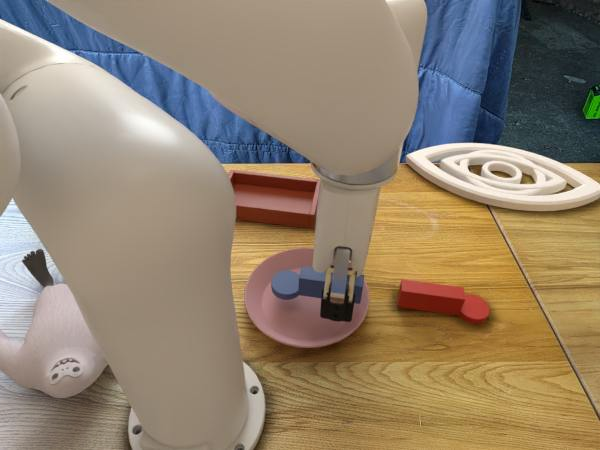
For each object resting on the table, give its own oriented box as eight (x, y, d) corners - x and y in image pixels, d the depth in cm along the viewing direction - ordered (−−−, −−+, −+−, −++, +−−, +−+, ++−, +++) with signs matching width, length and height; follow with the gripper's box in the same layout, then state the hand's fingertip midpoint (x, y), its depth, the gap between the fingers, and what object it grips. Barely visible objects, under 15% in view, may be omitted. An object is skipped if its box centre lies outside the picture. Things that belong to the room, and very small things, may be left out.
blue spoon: (268, 297, 50) (267, 280, 48) (274, 273, 53) (274, 256, 51) (359, 310, 49) (362, 293, 47) (361, 285, 52) (364, 268, 50)
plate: (259, 371, 46) (257, 361, 44) (236, 270, 56) (234, 259, 55) (387, 340, 49) (390, 329, 47) (343, 249, 59) (344, 238, 57)
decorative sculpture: (405, 143, 78) (407, 135, 77) (581, 158, 75) (586, 150, 74) (409, 197, 67) (411, 189, 66) (615, 217, 64) (621, 209, 63)
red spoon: (485, 301, 53) (493, 285, 51) (489, 326, 50) (497, 310, 48) (397, 289, 54) (401, 273, 52) (397, 313, 51) (401, 297, 49)
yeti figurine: (125, 213, 56) (193, 318, 43) (135, 253, 60) (200, 360, 47) (-65, 273, 46) (-50, 429, 34) (-38, 315, 50) (-15, 469, 38)
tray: (321, 193, 67) (322, 179, 66) (313, 229, 62) (314, 215, 60) (231, 183, 69) (230, 169, 67) (216, 217, 63) (214, 202, 61)
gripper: (324, 97, 44) (317, 224, 56) (293, 210, 32) (292, 344, 43) (401, 104, 43) (378, 232, 55) (400, 223, 31) (370, 356, 42)
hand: (340, 281), depth 49 cm, fingers open, 9 cm apart
